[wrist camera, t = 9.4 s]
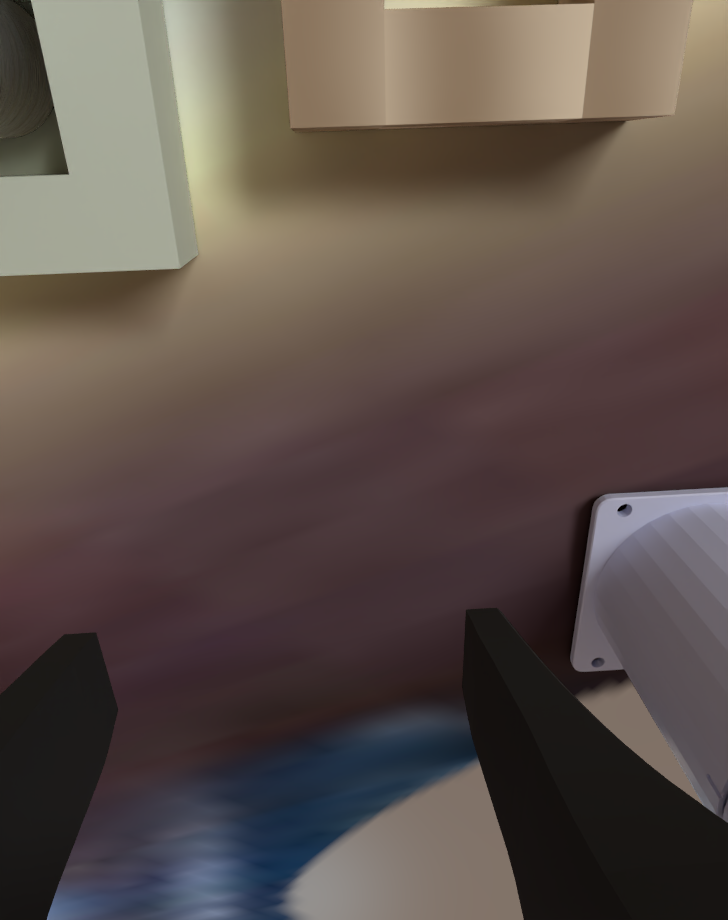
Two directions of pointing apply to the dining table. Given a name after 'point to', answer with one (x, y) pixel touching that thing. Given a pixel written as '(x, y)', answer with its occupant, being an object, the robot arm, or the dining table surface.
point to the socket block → (481, 63)
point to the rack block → (104, 149)
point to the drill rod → (21, 73)
